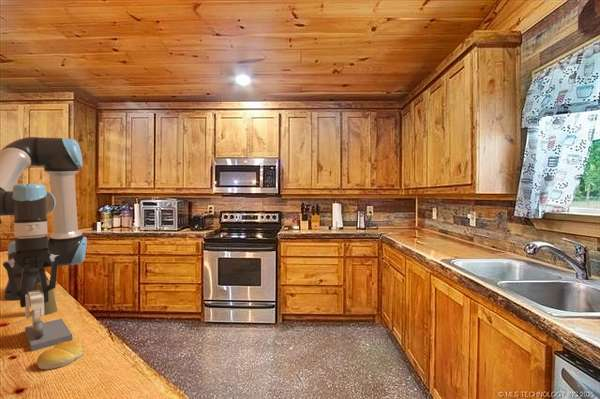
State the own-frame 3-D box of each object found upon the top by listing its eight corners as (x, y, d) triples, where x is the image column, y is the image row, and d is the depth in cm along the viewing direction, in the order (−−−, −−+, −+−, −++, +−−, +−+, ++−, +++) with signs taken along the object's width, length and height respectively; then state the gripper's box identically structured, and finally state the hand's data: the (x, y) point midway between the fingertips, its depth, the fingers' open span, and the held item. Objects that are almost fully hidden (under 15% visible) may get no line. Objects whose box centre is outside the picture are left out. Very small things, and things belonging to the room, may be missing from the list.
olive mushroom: (45, 316, 111) (44, 283, 111) (30, 314, 112) (29, 283, 112) (61, 309, 117) (60, 279, 117) (47, 308, 118) (46, 278, 118)
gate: (45, 336, 90) (43, 298, 90) (33, 339, 89) (31, 300, 88) (40, 324, 99) (39, 289, 99) (29, 326, 97) (27, 291, 97)
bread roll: (28, 369, 78) (27, 352, 77) (64, 351, 86) (63, 336, 86) (56, 373, 76) (55, 356, 75) (89, 354, 84) (89, 339, 84)
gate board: (25, 332, 98) (24, 327, 98) (61, 323, 104) (61, 318, 104) (31, 351, 86) (31, 345, 86) (72, 339, 92) (72, 334, 92)
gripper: (-5, 240, 88) (-1, 327, 88) (66, 234, 99) (69, 311, 99) (-6, 238, 93) (-2, 319, 94) (62, 232, 104) (65, 305, 105)
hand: (35, 315), depth 97 cm, fingers closed on gate, 3 cm apart
